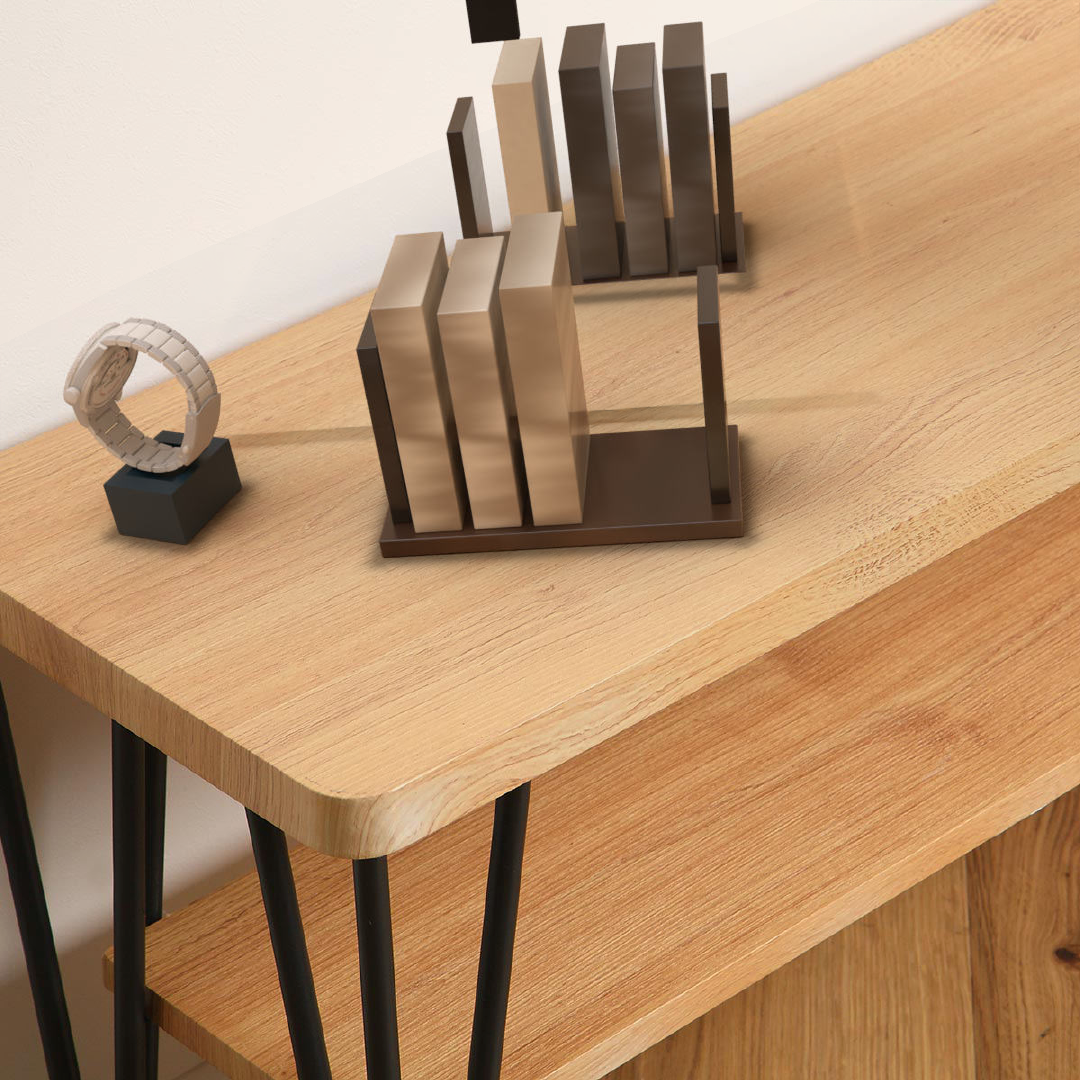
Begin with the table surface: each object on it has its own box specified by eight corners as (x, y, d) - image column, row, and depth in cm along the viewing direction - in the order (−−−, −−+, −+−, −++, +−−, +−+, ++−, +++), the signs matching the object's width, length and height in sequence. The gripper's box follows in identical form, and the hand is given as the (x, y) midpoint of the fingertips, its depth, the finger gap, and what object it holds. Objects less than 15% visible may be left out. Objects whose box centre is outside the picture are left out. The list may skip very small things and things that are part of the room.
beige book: (565, 229, 109) (541, 36, 101) (557, 282, 102) (531, 81, 95) (529, 232, 109) (503, 40, 102) (519, 285, 102) (491, 85, 95)
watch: (148, 473, 91) (93, 297, 85) (269, 491, 88) (221, 309, 82) (88, 529, 87) (26, 348, 81) (213, 550, 84) (159, 363, 77)
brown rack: (738, 439, 86) (723, 193, 78) (743, 537, 79) (727, 275, 71) (406, 461, 89) (359, 224, 81) (381, 557, 81) (327, 307, 73)
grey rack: (743, 225, 108) (731, 7, 100) (747, 285, 101) (734, 56, 93) (477, 247, 110) (443, 35, 102) (462, 307, 103) (425, 85, 95)
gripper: (416, -424, 95) (467, -52, 107) (343, -370, 75) (416, 80, 87) (543, -440, 94) (580, -64, 106) (504, -390, 74) (556, 68, 86)
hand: (507, 2), depth 96 cm, fingers open, 13 cm apart
